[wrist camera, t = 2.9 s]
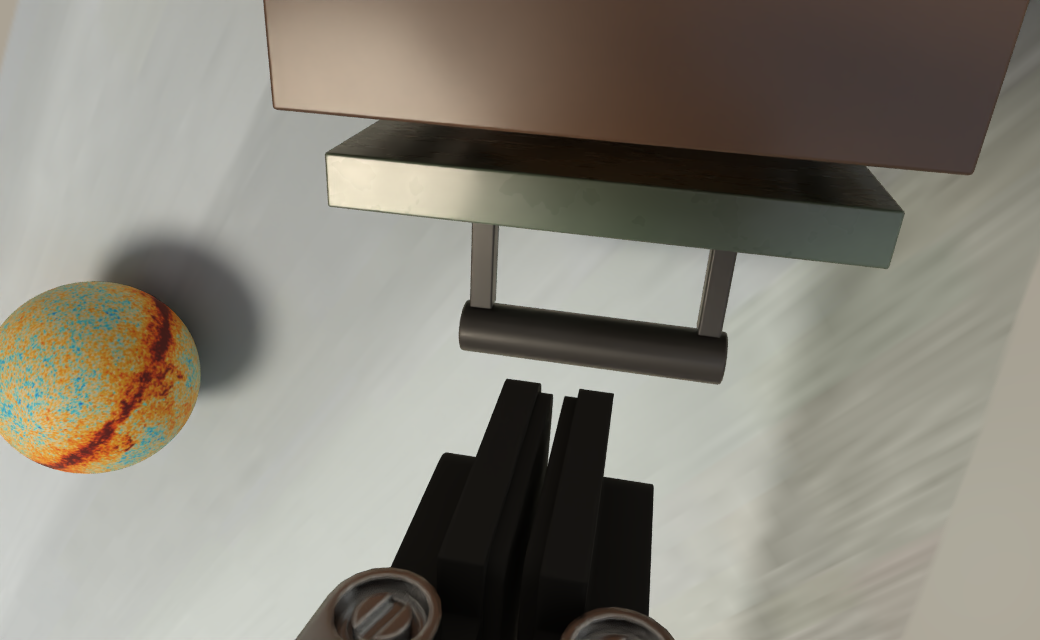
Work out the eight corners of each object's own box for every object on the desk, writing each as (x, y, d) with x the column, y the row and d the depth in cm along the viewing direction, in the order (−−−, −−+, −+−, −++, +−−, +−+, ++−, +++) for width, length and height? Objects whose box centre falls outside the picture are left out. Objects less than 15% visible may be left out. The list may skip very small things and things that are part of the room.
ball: (44, 273, 31) (-113, 356, 25) (186, 236, 29) (54, 315, 23) (126, 417, 34) (4, 525, 28) (262, 392, 32) (162, 501, 26)
